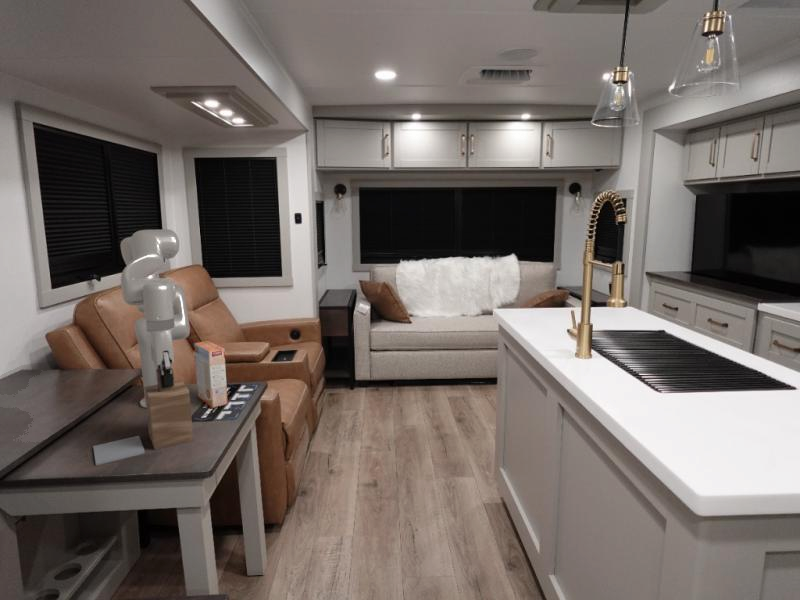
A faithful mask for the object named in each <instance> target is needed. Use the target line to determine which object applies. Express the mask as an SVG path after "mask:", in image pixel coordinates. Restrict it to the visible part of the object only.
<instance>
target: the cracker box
mask: <svg viewBox="0 0 800 600" xmlns="http://www.w3.org/2000/svg"><path fill="white" fill-rule="evenodd" d="M193 346H194V356H195V373H196V385H197V398H199V399H200V400H201V401H203V402H204V403H205V404H206V405H208V406H209V407H211V408H212V409H215V408H218V406H219V407H223V406H226V405H228V403H229V402H228V401H229V400H228V387H227V372H226V371H227V370H226V356H225V355H226V354H225V348H224V347H222V346H220V345H219V344H216V343H214V342H213V341H210V340H204V341H200V342H199V341H198V342H195V343H194V345H193Z"/></svg>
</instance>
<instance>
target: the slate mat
mask: <svg viewBox="0 0 800 600" xmlns="http://www.w3.org/2000/svg"><path fill="white" fill-rule="evenodd" d="M92 447H93V454H94V462H95V466H99V465H104V464H107V463H111V462H115V461H121V460H123V459H124V460H125V459H128V458H131V457H132V458H133V457H136V456H140V455H143V454H144V455H145V454H146V452H145V448H144V446H143V442H142V440H141V438H140V435H135V436H132V437H127V438H122V439H117V440H114V441H110V442H106V443H101V444H96V445H93V446H92Z"/></svg>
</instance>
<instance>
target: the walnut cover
mask: <svg viewBox="0 0 800 600" xmlns="http://www.w3.org/2000/svg"><path fill="white" fill-rule="evenodd" d="M163 369H164V368H163ZM156 372H157V382H158V385H153V386H148V387H144V386H143V390H144V389H145V396H144V397H145V399H146V408H145V409H146V415H147V416H146V417H147V418H146V419H147V424H148V425H147V427H148V436H149V439H150V442H151V444H152V446H153V449H154V450H161V449H164V448H167V447H172V446H176V445H180V444H184V443H187V442H191V441H192V442H193V441H194V439H195V438H194V429H193V419H192V417H193V416H192V407H191V395H190V393H191V392H190V389H189V388H188V386H187V385H186V383H185V382H184V381H183V380H181V379H180V380H177V381H175V375H174V369H173V368H172V373H173V384H174V385H173V386H172V387H167V388H162V387H161V377H160V375H161V368H159V369H156Z"/></svg>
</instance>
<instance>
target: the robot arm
mask: <svg viewBox="0 0 800 600" xmlns="http://www.w3.org/2000/svg"><path fill="white" fill-rule="evenodd" d="M179 250H180V239H179V236H178V235H177V233H176V232H175V231H174V230H173V229H169V228H168V229H167V228H165V229H142V230H137V231H135V232H134V233H132V235H131V236H129V237H125V238H123V239H122V240H121V241H120V252H121V256H122V259H123V261H124V263H125V265H126V266H125V267H124V269H123V270H122V273H121V274H120V275H121V276H120V286H121V292H122V293H121V294H122V297H123V301H124V302H125V303H126V304H127V305H130V306H136V307H137V310H138V311H139V312H140V313H142V314H144V316H142V317H139V319H137V320H136V321H135V323H134V326H133V327H134V333H135V337H136V340H137V346H138V351H139V357H140V366H141V376H142V384H143V385H142V386H143V392H144V393H143V394H144V397H143V398H142V399H141V400H140V402H139V403H140V405H139V406H141V407H142V408H145V409H147V408H146V399H145V389H144V387H148V386H153V385H158V382H157V372H156V369H159V368H161V375H160V377H161V387H162V388H167V387H172V386H173V385H174V384H173V373H172V369H173V368H172V365H173V364H174V363H175V354H174V344H173V341H178V340H184V339H187V338H189V336H190V332H191V328H190V319H189V314H188V308H187V307H188V306H187V299H186V296H185V295H186V294H185V292H184V290H183V288H182V286H180V285H178V284H176V283H174V282H173V280H172V279H170V278H166V277H160V274H159V272H160V271H161V270H162V268H163V267H164V264H165V262H164V261H165V260H168V259H174V258H175V257H176V256H177V254H178V253H179ZM163 368H164V369H163Z"/></svg>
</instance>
